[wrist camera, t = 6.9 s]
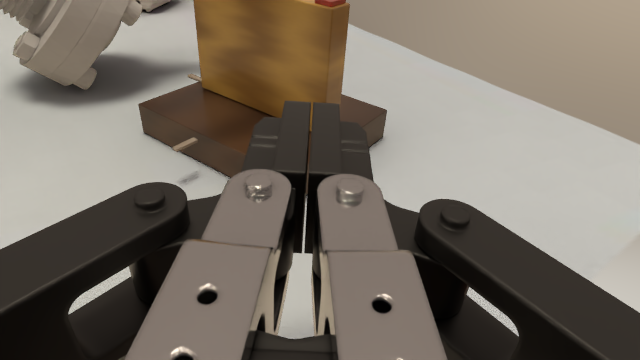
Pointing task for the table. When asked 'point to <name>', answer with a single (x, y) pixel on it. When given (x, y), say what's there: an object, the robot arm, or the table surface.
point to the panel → (228, 124)
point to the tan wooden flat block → (273, 50)
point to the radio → (151, 4)
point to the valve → (67, 34)
